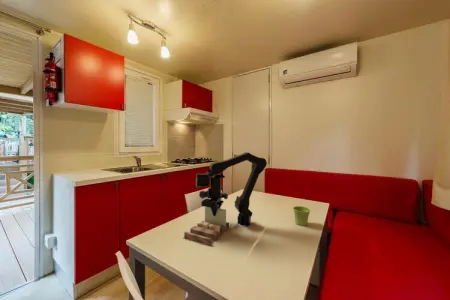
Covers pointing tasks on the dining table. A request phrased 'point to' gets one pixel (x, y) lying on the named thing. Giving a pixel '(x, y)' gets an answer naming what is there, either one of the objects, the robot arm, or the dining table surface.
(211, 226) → the offcut
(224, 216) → the sheet
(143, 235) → the dining table surface
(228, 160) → the robot arm
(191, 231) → the rack
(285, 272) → the dining table surface
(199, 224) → the offcut
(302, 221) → the plant pot
